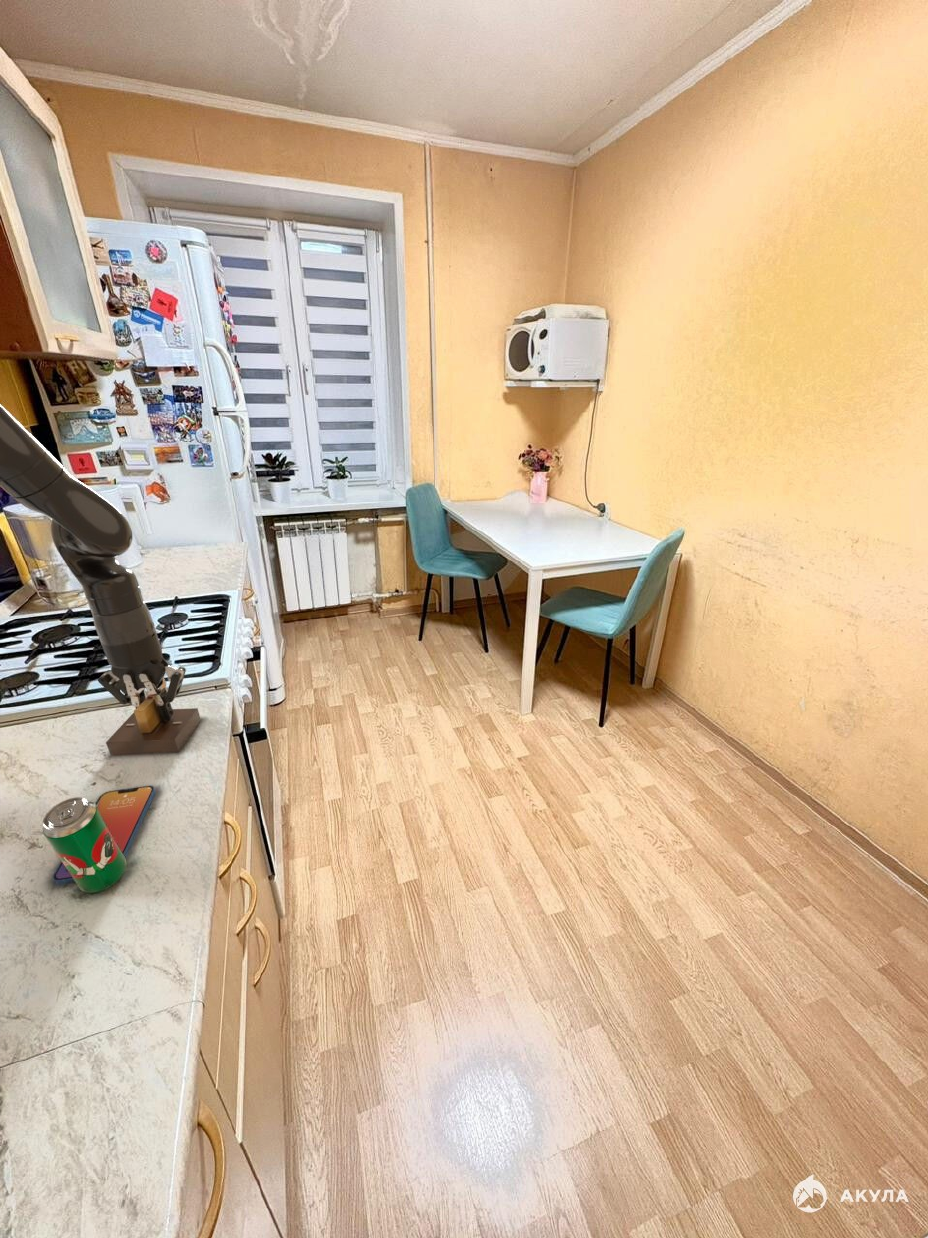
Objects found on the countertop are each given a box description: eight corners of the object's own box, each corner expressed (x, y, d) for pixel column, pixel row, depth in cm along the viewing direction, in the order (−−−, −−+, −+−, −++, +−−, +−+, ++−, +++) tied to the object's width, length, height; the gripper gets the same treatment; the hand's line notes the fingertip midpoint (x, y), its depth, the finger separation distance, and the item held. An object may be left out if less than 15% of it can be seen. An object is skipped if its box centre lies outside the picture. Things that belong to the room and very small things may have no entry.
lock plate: (111, 757, 83) (105, 741, 81) (139, 724, 91) (134, 709, 90) (179, 753, 83) (174, 738, 82) (201, 721, 91) (197, 707, 90)
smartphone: (51, 888, 61) (48, 882, 60) (103, 797, 74) (101, 792, 74) (118, 876, 62) (116, 871, 62) (158, 789, 75) (156, 784, 75)
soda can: (124, 849, 65) (90, 787, 59) (131, 879, 62) (96, 816, 55) (77, 872, 62) (37, 809, 56) (82, 904, 59) (39, 841, 53)
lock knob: (150, 733, 83) (142, 709, 82) (140, 733, 83) (133, 709, 82) (166, 715, 88) (159, 692, 86) (157, 715, 88) (149, 692, 86)
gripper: (66, 645, 76) (104, 736, 83) (161, 641, 76) (190, 731, 84) (96, 623, 82) (129, 709, 90) (182, 620, 83) (207, 705, 90)
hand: (158, 720), depth 87 cm, fingers closed
